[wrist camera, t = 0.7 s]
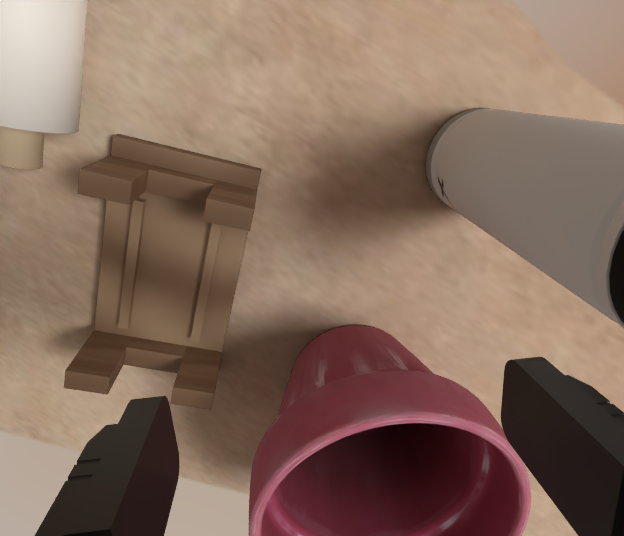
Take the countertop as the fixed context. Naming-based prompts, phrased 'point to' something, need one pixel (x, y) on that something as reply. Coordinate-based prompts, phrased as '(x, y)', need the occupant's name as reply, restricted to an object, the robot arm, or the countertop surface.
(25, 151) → the roll
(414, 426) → the plant pot
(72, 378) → the holder
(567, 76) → the countertop surface
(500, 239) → the travel mug
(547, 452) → the robot arm
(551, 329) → the countertop surface
